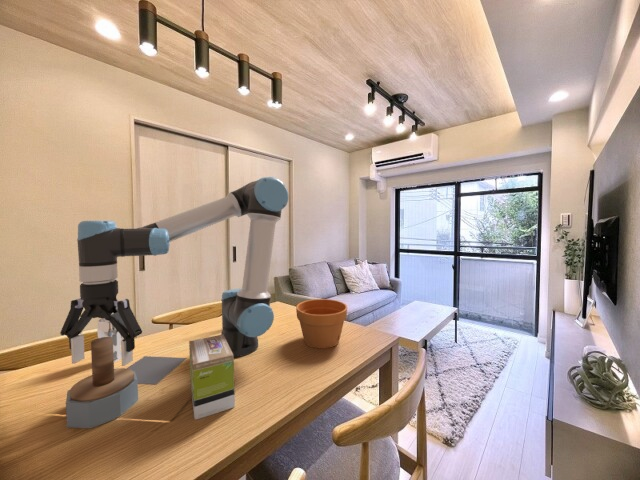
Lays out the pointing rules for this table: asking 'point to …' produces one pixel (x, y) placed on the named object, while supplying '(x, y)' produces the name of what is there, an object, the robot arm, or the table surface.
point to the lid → (102, 374)
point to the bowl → (101, 407)
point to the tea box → (211, 376)
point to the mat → (154, 368)
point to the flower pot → (321, 321)
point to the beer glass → (110, 331)
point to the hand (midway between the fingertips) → (102, 362)
